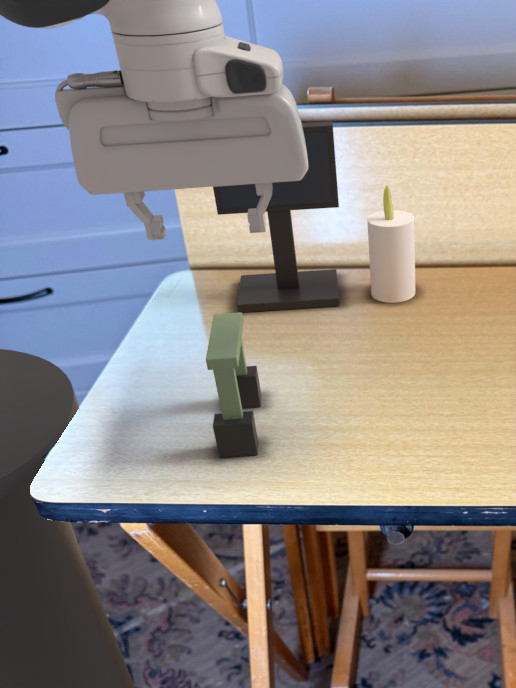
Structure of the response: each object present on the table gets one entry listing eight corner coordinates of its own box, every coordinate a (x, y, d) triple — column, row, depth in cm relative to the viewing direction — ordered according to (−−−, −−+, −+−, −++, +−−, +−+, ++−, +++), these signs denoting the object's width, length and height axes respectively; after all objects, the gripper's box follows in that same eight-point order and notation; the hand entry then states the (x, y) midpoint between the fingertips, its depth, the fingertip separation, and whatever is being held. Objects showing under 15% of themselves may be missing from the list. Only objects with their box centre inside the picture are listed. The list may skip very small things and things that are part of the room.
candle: (421, 285, 115) (420, 176, 105) (407, 304, 110) (405, 192, 100) (380, 281, 116) (375, 173, 106) (364, 299, 112) (358, 189, 102)
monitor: (230, 313, 110) (200, 141, 95) (235, 283, 117) (207, 119, 103) (346, 305, 110) (333, 134, 96) (343, 276, 118) (331, 113, 103)
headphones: (219, 458, 84) (199, 364, 76) (227, 398, 93) (209, 310, 85) (257, 455, 84) (241, 361, 77) (261, 395, 93) (247, 307, 86)
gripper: (38, 83, 63) (89, 255, 72) (297, 67, 64) (315, 239, 73) (56, 66, 68) (102, 230, 77) (297, 52, 69) (314, 214, 78)
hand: (208, 234), depth 75 cm, fingers open, 8 cm apart
